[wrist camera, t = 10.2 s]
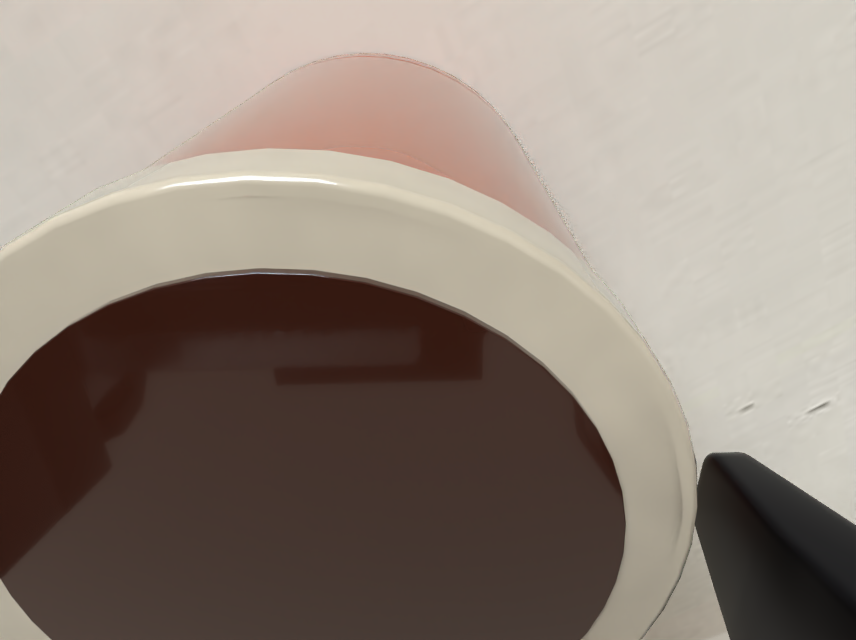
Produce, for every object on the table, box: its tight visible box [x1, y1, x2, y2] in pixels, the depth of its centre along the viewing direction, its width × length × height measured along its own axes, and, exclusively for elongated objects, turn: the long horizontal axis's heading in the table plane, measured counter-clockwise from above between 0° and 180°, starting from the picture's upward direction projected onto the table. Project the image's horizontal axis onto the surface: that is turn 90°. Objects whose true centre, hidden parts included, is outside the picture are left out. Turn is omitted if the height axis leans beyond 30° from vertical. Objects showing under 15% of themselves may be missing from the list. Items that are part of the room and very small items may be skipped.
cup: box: [0, 53, 698, 640], centre depth 10 cm, size 9×7×7 cm
